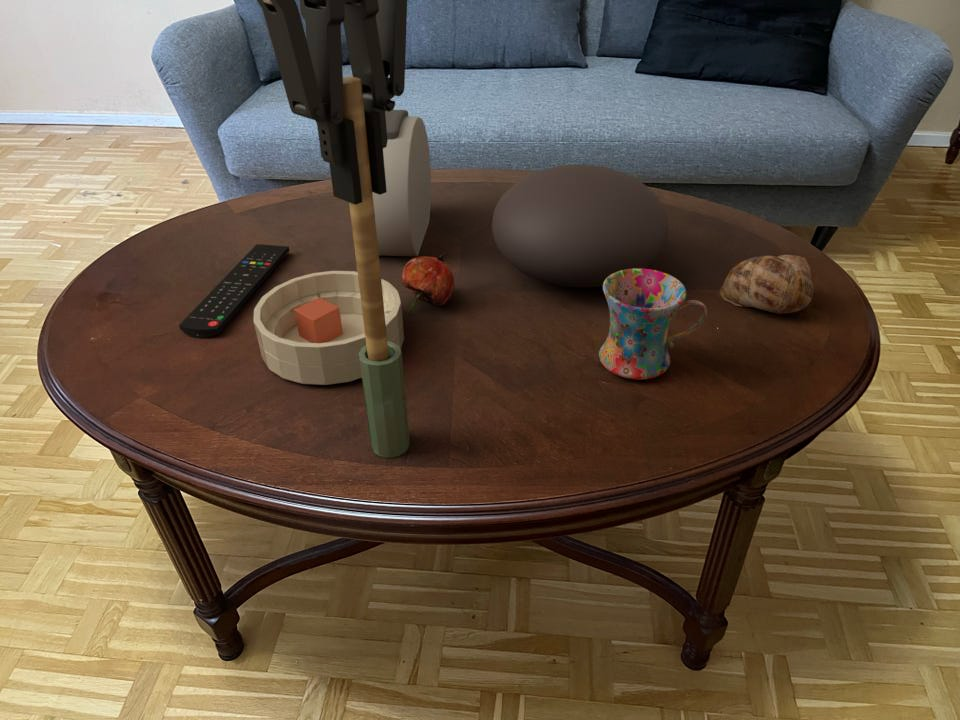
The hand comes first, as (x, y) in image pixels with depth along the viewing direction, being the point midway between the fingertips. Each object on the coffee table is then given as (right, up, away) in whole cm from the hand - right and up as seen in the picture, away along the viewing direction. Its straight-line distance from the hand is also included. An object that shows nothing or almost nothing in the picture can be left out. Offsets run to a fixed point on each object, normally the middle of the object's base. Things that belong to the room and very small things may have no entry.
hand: (360, 193), depth 59 cm
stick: (0, -17, +12) cm, 21 cm away
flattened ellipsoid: (+24, -1, +47) cm, 53 cm away
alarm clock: (-3, +6, +57) cm, 57 cm away
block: (-11, -11, +33) cm, 36 cm away
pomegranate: (+3, -6, +40) cm, 40 cm away
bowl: (-9, -12, +32) cm, 35 cm away
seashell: (+49, -6, +39) cm, 63 cm away
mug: (+30, -14, +28) cm, 43 cm away
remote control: (-24, -4, +43) cm, 50 cm away
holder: (0, -23, +17) cm, 28 cm away
